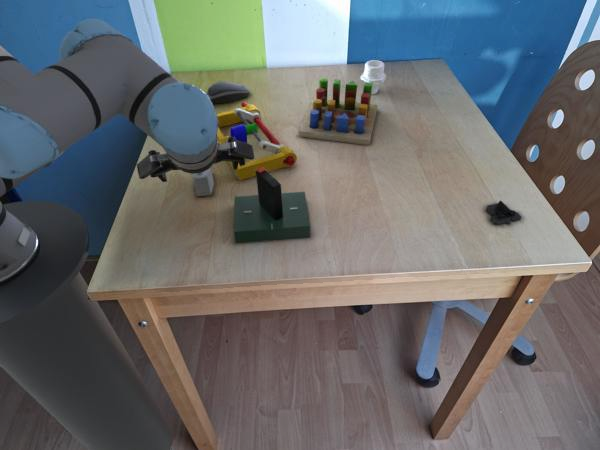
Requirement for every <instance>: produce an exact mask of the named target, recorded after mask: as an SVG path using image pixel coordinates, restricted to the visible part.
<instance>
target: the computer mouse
mask: <svg viewBox="0 0 600 450" xmlns="http://www.w3.org/2000/svg"><path fill="white" fill-rule="evenodd" d="M206 95H207V96H208V97H209V99H210V100H211V102H212V104H224V103H225V104H226V103H230V102H234V101H237V100H241V99H245V98H247V97H249V95H250V89H249V88H248V86H246V85H244V84H240V83H236V82H231V81H223V80H222V81H216V82H215V83H213V84H211V85H210V86H209V87H208V89H207V92H206Z"/></svg>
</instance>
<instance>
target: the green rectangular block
mask: <svg viewBox="0 0 600 450" xmlns="http://www.w3.org/2000/svg"><path fill="white" fill-rule="evenodd" d="M281 194H282V211H283V217H282V218H280V219H278V220H275V219H274V218H273V217H272V216H271V215H270V214H269V213H268V212H267V211H266V210H265V209H264V208H263V207H262V206H261V205H260V204H259V197H258V194H252V195H238V196H234V205H233V211H234V213H233V237H234V241H235V244H241V243H242V244H243V243H254V242H265V241H266V242H267V241H268V242H269V241H279V240H280V241H281V240H292V239H305V238H311V222H310V216H309V209H308V203H307V197H306V191H294V192H281Z"/></svg>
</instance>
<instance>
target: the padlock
mask: <svg viewBox="0 0 600 450" xmlns="http://www.w3.org/2000/svg"><path fill="white" fill-rule="evenodd" d="M211 167H212V166H211ZM211 167H210V168H209V169H208V170H206V171H204V172H201V173H196V174H191V177H192V181H193V185H194V188H195V192H196V196H197V197H204V196H211V195H212V192H213V189H214V186H215V183H214V177H213V173H212V168H211Z"/></svg>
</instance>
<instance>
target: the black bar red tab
mask: <svg viewBox="0 0 600 450" xmlns="http://www.w3.org/2000/svg"><path fill="white" fill-rule="evenodd" d="M255 177H256V178H255V179H256V186H257V195H258V197H259V204H260V205H261V206H262V207H263V208H264V209H265V210H266V211H267V212H268V213H269V214H270V215H271V216H272V217H273V218H274V219H275V220H278V219H280V218H282V217H283V211H282V194H281V193H282V184H281V182H279V181H278V179H276V178H275V177H274V176H273V175H272V174H271V173H270V172H267V171H266V170H265V169H264V168H263V167H262V168H259V169H257V170H256V176H255Z"/></svg>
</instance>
